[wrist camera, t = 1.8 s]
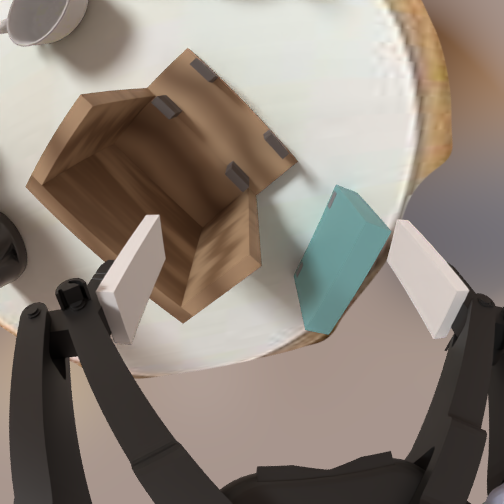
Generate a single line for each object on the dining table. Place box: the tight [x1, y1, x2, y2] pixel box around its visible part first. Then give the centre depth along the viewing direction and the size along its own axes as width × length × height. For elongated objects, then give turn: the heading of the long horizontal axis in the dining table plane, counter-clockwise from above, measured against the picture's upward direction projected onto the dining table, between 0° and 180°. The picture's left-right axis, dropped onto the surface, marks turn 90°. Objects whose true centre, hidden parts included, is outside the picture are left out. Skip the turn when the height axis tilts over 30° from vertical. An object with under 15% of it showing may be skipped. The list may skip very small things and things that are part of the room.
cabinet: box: [26, 48, 298, 323], centre depth 29 cm, size 17×20×18 cm
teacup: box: [0, 0, 88, 46], centre depth 21 cm, size 14×11×8 cm
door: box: [294, 185, 391, 334], centre depth 39 cm, size 5×16×12 cm, turn 162°
